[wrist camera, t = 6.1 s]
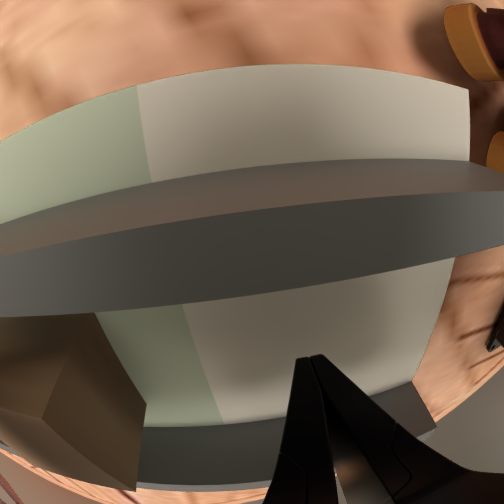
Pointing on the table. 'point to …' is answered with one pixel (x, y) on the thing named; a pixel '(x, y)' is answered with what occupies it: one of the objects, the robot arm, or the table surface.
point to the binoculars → (480, 55)
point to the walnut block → (69, 400)
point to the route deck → (248, 245)
